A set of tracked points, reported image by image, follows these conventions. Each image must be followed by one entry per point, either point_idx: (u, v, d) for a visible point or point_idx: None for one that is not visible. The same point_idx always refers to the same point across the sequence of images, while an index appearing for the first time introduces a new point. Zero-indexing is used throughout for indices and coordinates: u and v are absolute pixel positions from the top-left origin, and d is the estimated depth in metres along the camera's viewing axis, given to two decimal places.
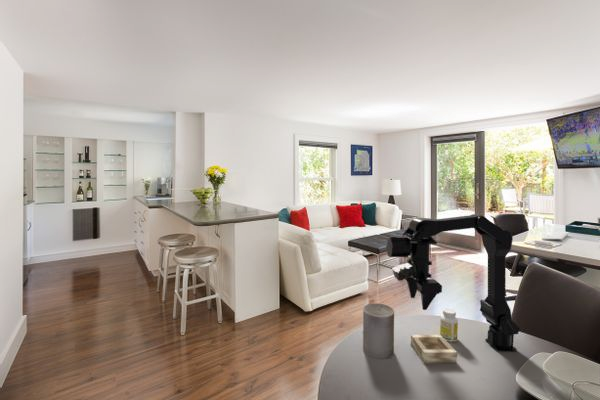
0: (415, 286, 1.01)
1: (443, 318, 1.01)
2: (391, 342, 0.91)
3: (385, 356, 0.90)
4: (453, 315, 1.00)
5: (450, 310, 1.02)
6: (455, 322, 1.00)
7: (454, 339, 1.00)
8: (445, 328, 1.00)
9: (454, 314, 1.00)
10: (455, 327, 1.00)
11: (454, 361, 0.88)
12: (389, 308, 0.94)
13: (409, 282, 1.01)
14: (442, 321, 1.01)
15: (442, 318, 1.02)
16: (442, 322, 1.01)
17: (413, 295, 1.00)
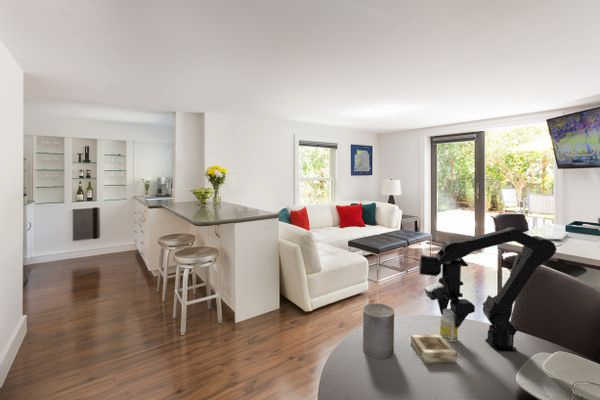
0: (445, 304, 1.06)
1: (443, 318, 1.01)
2: (391, 342, 0.91)
3: (385, 356, 0.90)
4: (453, 315, 1.00)
5: (450, 310, 1.02)
6: None
7: (454, 339, 1.00)
8: (445, 328, 1.00)
9: None
10: (455, 327, 1.00)
11: (454, 361, 0.88)
12: (389, 308, 0.94)
13: (439, 300, 1.06)
14: (442, 321, 1.01)
15: (442, 318, 1.02)
16: (442, 322, 1.01)
17: None
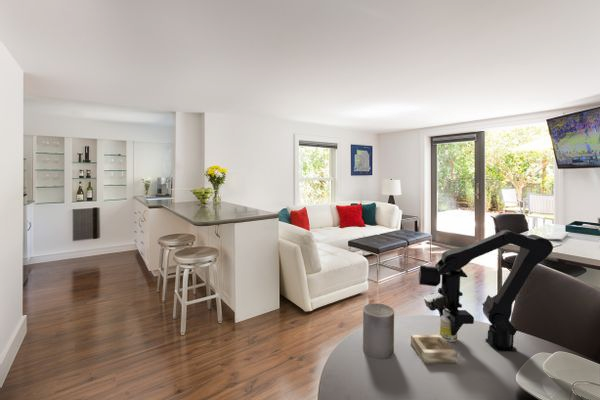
0: None
1: (443, 318, 1.01)
2: (391, 342, 0.91)
3: (385, 356, 0.90)
4: None
5: None
6: None
7: (454, 339, 1.00)
8: (445, 328, 1.00)
9: None
10: None
11: (454, 361, 0.88)
12: (389, 308, 0.94)
13: (441, 312, 1.05)
14: (442, 321, 1.01)
15: (442, 318, 1.02)
16: (442, 322, 1.01)
17: None
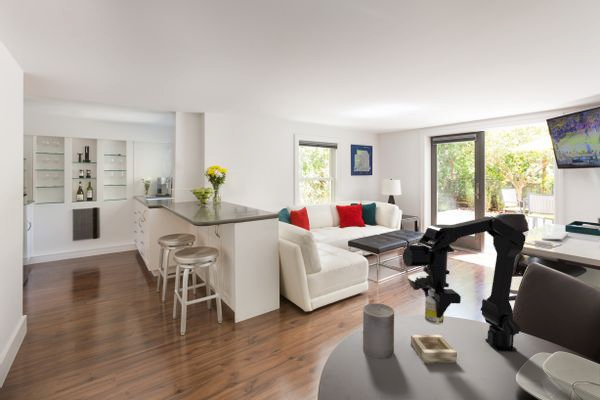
0: None
1: (428, 299, 0.92)
2: (391, 342, 0.91)
3: (385, 356, 0.90)
4: None
5: None
6: None
7: (440, 322, 0.91)
8: (430, 309, 0.91)
9: None
10: None
11: (454, 361, 0.88)
12: (389, 308, 0.94)
13: (427, 293, 0.96)
14: (427, 302, 0.92)
15: (427, 299, 0.93)
16: (427, 303, 0.92)
17: None
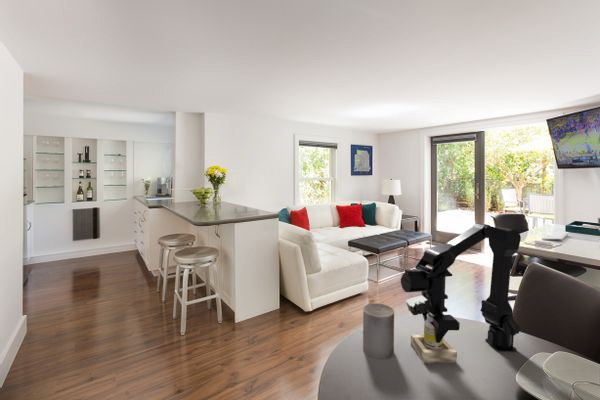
0: None
1: (427, 323, 0.92)
2: (391, 342, 0.91)
3: (385, 356, 0.90)
4: None
5: None
6: None
7: (439, 346, 0.90)
8: (428, 334, 0.91)
9: None
10: None
11: (454, 361, 0.88)
12: (389, 308, 0.94)
13: (425, 316, 0.96)
14: (426, 327, 0.92)
15: (426, 323, 0.92)
16: (426, 328, 0.92)
17: None
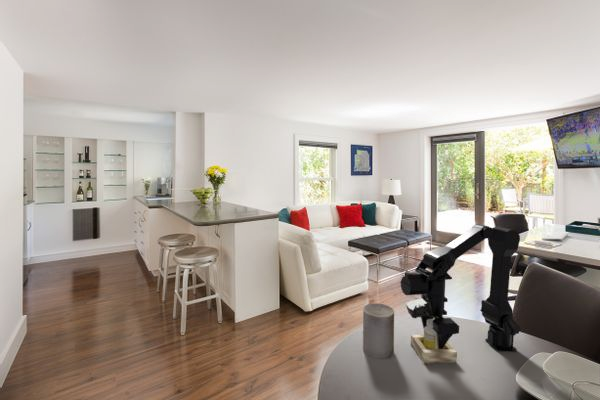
0: None
1: (427, 329, 0.92)
2: (391, 342, 0.91)
3: (385, 356, 0.90)
4: None
5: None
6: None
7: None
8: (428, 340, 0.91)
9: None
10: None
11: (454, 361, 0.88)
12: (389, 308, 0.94)
13: (423, 317, 0.97)
14: (425, 333, 0.92)
15: (426, 329, 0.93)
16: (425, 334, 0.92)
17: None
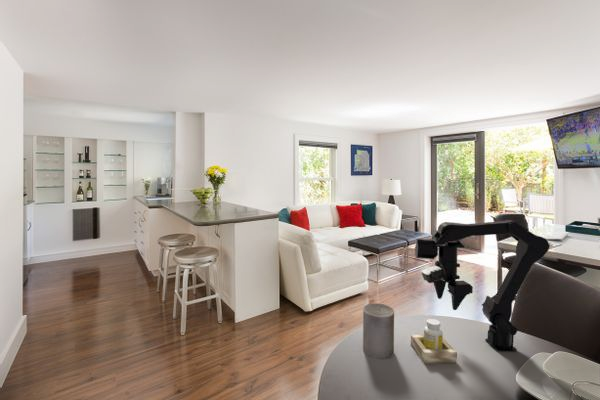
0: (442, 287, 1.05)
1: (427, 330, 0.92)
2: (391, 342, 0.91)
3: (385, 356, 0.90)
4: (437, 326, 0.91)
5: (434, 321, 0.93)
6: (439, 334, 0.90)
7: None
8: (428, 340, 0.91)
9: (438, 325, 0.91)
10: (439, 340, 0.90)
11: (454, 361, 0.88)
12: (389, 308, 0.94)
13: (436, 284, 1.05)
14: (425, 333, 0.92)
15: (425, 330, 0.92)
16: (425, 334, 0.92)
17: (440, 296, 1.05)
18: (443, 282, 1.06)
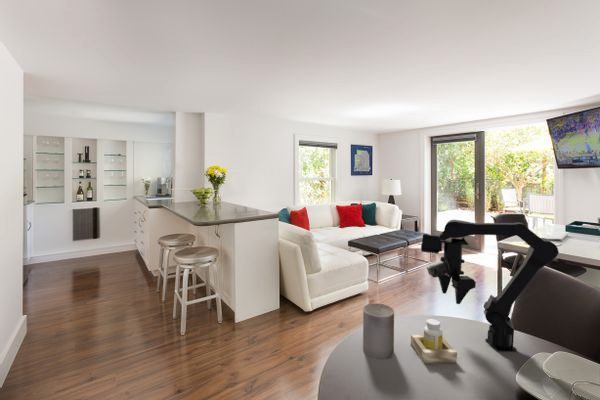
0: (447, 282, 1.09)
1: (426, 330, 0.92)
2: (391, 342, 0.91)
3: (385, 356, 0.90)
4: (437, 327, 0.91)
5: (434, 321, 0.93)
6: (439, 334, 0.90)
7: None
8: (428, 341, 0.91)
9: (438, 325, 0.91)
10: (439, 340, 0.90)
11: (454, 361, 0.88)
12: (389, 308, 0.94)
13: (441, 279, 1.09)
14: (425, 333, 0.92)
15: (425, 330, 0.92)
16: (425, 334, 0.92)
17: (445, 291, 1.09)
18: (448, 277, 1.09)
